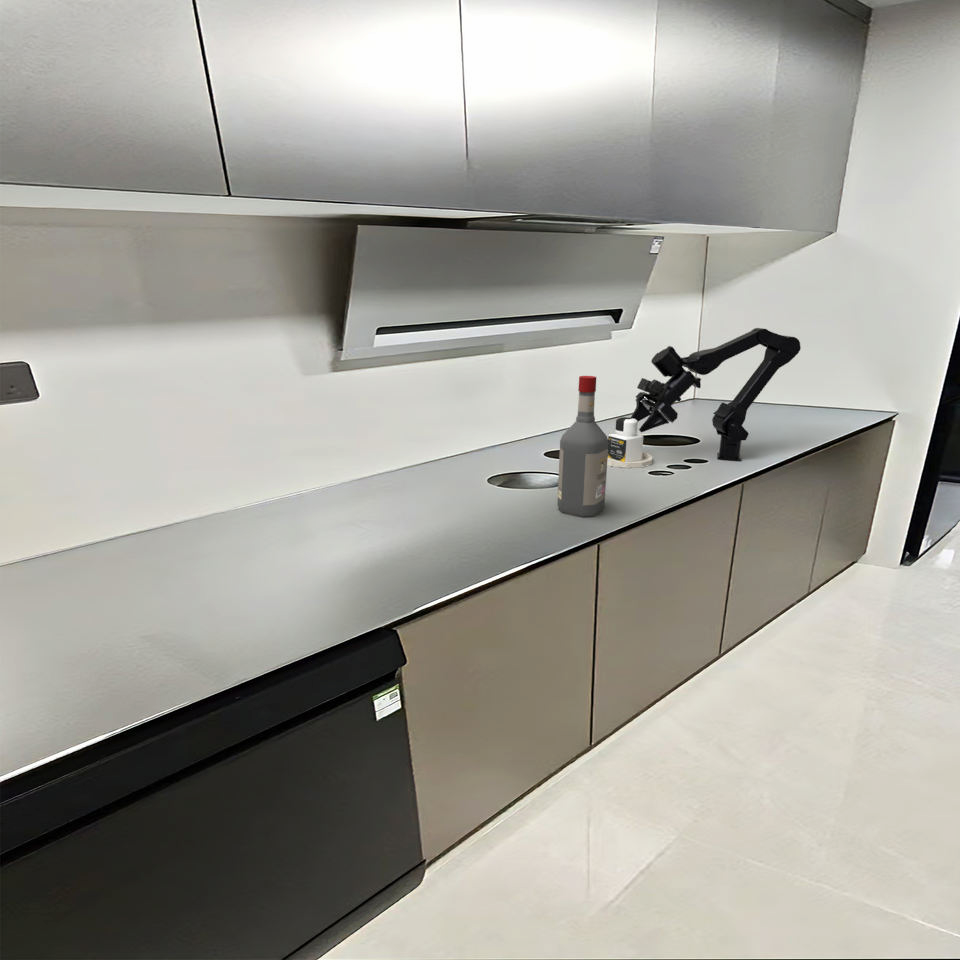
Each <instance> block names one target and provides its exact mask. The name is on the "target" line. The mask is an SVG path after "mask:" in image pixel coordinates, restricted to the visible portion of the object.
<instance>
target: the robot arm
mask: <svg viewBox="0 0 960 960" xmlns="http://www.w3.org/2000/svg"><path fill="white" fill-rule="evenodd" d="M759 345H760V346H762V347H765V353H764V355H763V356H764V357H763V360H762V361H761V363H760V364H759V365H758V367H757V368H756V369H755V371H754V372H753V373H752V375H751V376H750V378H749V379H748V380H747V381H746V382H745V384H744V385H743V387H742V388H741V389H740V391H739V392H738V393H737V395H736V396H735V397H734V398H733V400H732V401H730V402H728V403H725V402H721V403H720V405H719V406H718V408H717V409H716V411H714V412H713V416H712V420H711V421H712V426H713V428H714V429H715V430H716V434H717V435H718V436H720V443H719V452H717V453H716V456H717V458H716V459H717V460H728V461H736V462H737V461H738V462H739V461H742V456H741V454H740V453H741V447H742V441H747V439H748V436H749V432H748V431H747V430H746V428H744V426H743V424H744V423H745V421H746V416H747V414H748V413H747V411H748V409H749V408H750V407H751V405H752V404H753V403H754V401H755V400H756V399H757V398H758V397H759V395H760V394H761V393H762V391H763V390H764V389H765V387H766V385H768V383H769V382H770V381H771V379H772V378H773V376H774V375H775V374H776V372H777V371H778V370H779V369H780V368H781V367H784V366H785V365H787V364H789V363H790V362H791V361H792V360H793V359H794V358H795V357H796V356H797V355H798V354H799V353H800V351H801V348H802V347H801V342H800V340H799V339H798V338H797V337H795V336H790V335H789V336H788V335H782V334H779V333H775V332H772V331H770V330H768V329H767V328H763V327H762V328H761V327H755V328H753V329H752V330H750V331H748V332H746V333H744V334H741V335H739V336H738V337H735V338H733V339H731V340H729V341H727V342H725V343H722V344H720V345H717V346H716V347H713V348H708V349H702V350H698V351H695V352H693V353H692V352H691V353H690V354H689V355H688V356H684V357H681V356H680V354H678V352H677V351H676V350H675V348H674V347H673V346H670V345H668V346H667V347H666V348H664V349H662V350H661V351H659V352H657V353H655V354H654V356H653V357H652V359H651V361H650V362H651V363H652V365H653V366H654V367H655V368H656V369H657V370H658V372H659V373H660V374H661V375H662V376H663V377H665V378H667V377H669V379H668V380H667V381H666V382H665V383H664V382H661V381H660V380H658V379H652V380H648V379H647V378H643V377H642V378H640V381H639V383H638V384H637V387H636V389H638V390H641V391H640V392H638V393H637V395H635V398H636V399H635V402H636V407H635V409H634V411H633V413H632V414H631V416H630V418H634V419H636V420H637V421H638V422H640V421H641V420H644V419H645V418H646V420H645V421H644V422H643V424H642V425H641V426H640V427H639V428H638V431H639V432H640V433H644V432H646V431H648V430H651V429H655V428H658V427H660V426H663V425H666V424H667V425H668V424H669V423H672V424H673V423H674V422H675V421H676V420H677V419H678V415H679V414H678V411H676V410H675V409H674V408H673V405H674V404H675V403H676V402H680V401H682V398H681V397H682V396H683V395H684V394H685V393H686V392H687V391H688V390H689V389H690V388H691V387H692V386H693V387H694V388H697V389H701V387H702V385H701V380H702V378H700V377H696V376H695V375H694V374H697V375H701V376H706V375H708V374H710V373H712V372H713V371H714V370H716V369H718V367H720V366H721V364H722V363H723V362H725V361H727V360H729V359H731V358H733V357H735V356H738V355H740V354H742V353H745V352H746V351H748V350H751V349H753V348H754V347H756V346H759ZM685 368H687V370H686V369H685Z"/></svg>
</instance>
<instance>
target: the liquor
mask: <svg viewBox="0 0 960 960" xmlns="http://www.w3.org/2000/svg"><path fill="white" fill-rule="evenodd" d="M596 390H597V376H593V375H581V376H579V377H578V405H577V415H576V418H575V421H574V423H572V425H570V427H569V428H568V429H567V430H566V431H565V432H564V433H563V434H562V436H561V438H560V439H559V455H558V456H559V458H558V483H557V507H558V509H559V510H560V511H561V512H562V513H563V514H567V515H571V516H576V517H580V518H589V517H591V518H592V517H594V516H596V515H598V514H599V513H600V512H602V511H603V510H604V509H605V504H606V503H605V501H606V489H607V488H606V486H607V470H608V466H607V459H608V444H609V441H608V436H607V435H606V433H605V432H604V431H603V430H602V428H601V427H600V426H599V425H598V424H597V422H596V418H595V417H596V416H595V399H596V398H595V395H596V394H595V393H596Z"/></svg>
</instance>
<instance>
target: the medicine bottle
mask: <svg viewBox="0 0 960 960" xmlns="http://www.w3.org/2000/svg"><path fill="white" fill-rule="evenodd" d="M615 420H616V421H615V430H614V431H615V433H610V434H608V436H607V438H608V441H609V444H608V459H611V460H615V461H620V462H634V461H639V460H641V459H642V452H643V447H644V446H643V445H644V436H643V435H641V434H637V433H638V425H639V424H638V423H639V421H637V420H636V419H634V418H631V417H628V416H627V417H625V416H624V417H623V416H622V417H619V418H617V419H615Z"/></svg>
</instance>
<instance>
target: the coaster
mask: <svg viewBox="0 0 960 960" xmlns="http://www.w3.org/2000/svg"><path fill="white" fill-rule="evenodd" d="M653 458H654V457H653V455H651V454H649V453H648V452H645V451H642V459H641V460H639V461H634V462H620V461H615V460H611V459H607V465H610V466H620V467H642V466H646V465H650V464H651V465H652V464H653V460H654V459H653ZM651 465H650V466H651ZM610 466H609V467H610ZM646 467H647V466H646Z"/></svg>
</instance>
